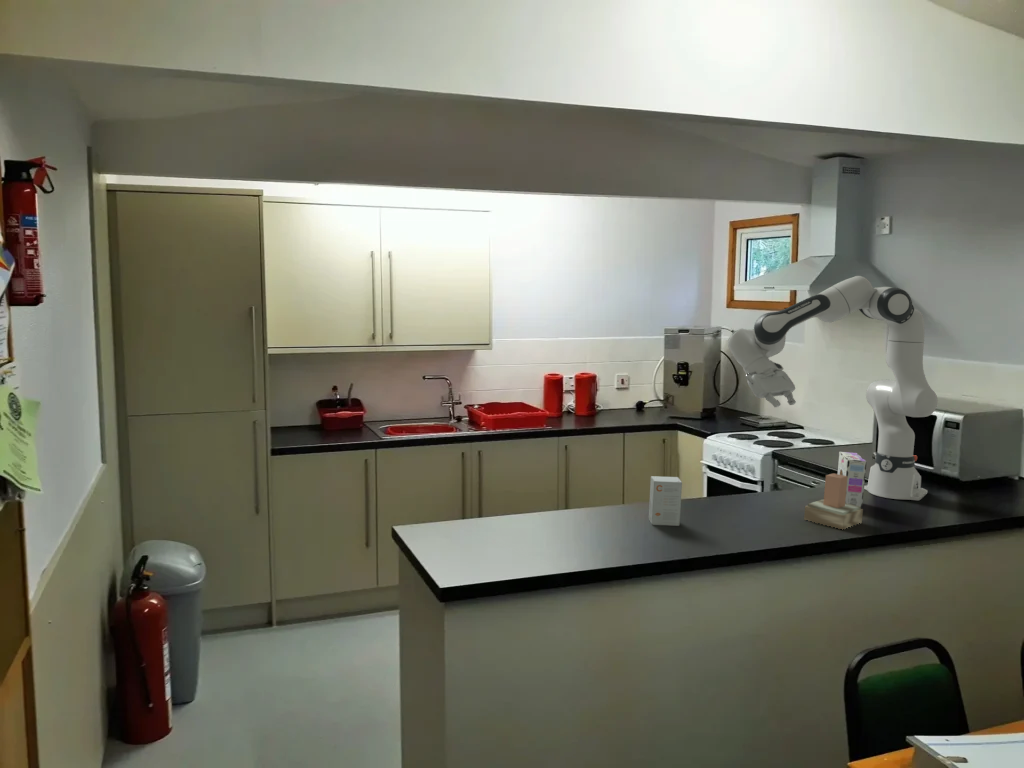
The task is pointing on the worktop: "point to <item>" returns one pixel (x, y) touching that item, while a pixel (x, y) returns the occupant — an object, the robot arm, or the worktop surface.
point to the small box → (665, 500)
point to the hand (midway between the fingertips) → (785, 405)
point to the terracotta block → (835, 490)
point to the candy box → (853, 476)
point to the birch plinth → (833, 514)
